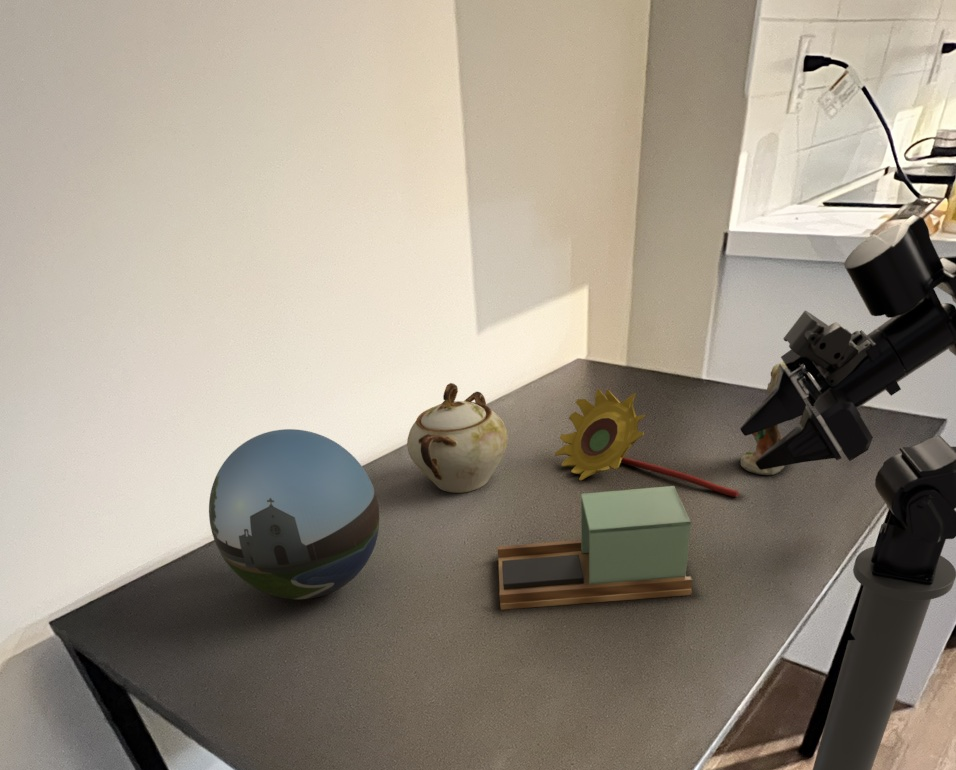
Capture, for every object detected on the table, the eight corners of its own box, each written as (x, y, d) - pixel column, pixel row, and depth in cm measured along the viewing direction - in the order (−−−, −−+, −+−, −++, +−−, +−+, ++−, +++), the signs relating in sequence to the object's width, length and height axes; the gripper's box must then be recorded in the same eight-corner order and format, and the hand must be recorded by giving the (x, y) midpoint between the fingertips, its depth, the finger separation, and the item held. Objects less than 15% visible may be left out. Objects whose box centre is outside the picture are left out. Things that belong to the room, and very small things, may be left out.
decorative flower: (702, 523, 99) (535, 465, 116) (730, 523, 104) (568, 467, 122) (737, 419, 93) (557, 374, 111) (765, 425, 99) (590, 381, 117)
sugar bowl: (478, 516, 105) (467, 411, 96) (388, 504, 111) (369, 403, 102) (530, 459, 119) (525, 362, 109) (447, 451, 124) (436, 358, 115)
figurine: (749, 452, 113) (764, 349, 103) (800, 461, 109) (821, 355, 100) (726, 476, 108) (740, 370, 98) (779, 486, 104) (798, 376, 94)
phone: (578, 559, 92) (578, 554, 92) (583, 583, 88) (583, 577, 87) (502, 565, 93) (502, 560, 92) (503, 589, 89) (503, 584, 88)
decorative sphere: (353, 640, 85) (312, 476, 72) (208, 624, 90) (146, 469, 78) (414, 553, 99) (388, 403, 86) (285, 543, 104) (243, 401, 92)
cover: (669, 544, 93) (674, 485, 88) (685, 582, 86) (690, 521, 81) (581, 551, 94) (580, 493, 89) (589, 590, 87) (589, 530, 82)
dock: (670, 545, 94) (672, 531, 93) (691, 595, 85) (692, 580, 84) (498, 559, 96) (497, 545, 94) (500, 609, 87) (499, 595, 86)
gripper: (829, 265, 78) (699, 364, 86) (886, 311, 64) (724, 425, 72) (875, 349, 83) (748, 436, 91) (938, 409, 69) (781, 507, 77)
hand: (749, 448), depth 82 cm, fingers open, 9 cm apart
